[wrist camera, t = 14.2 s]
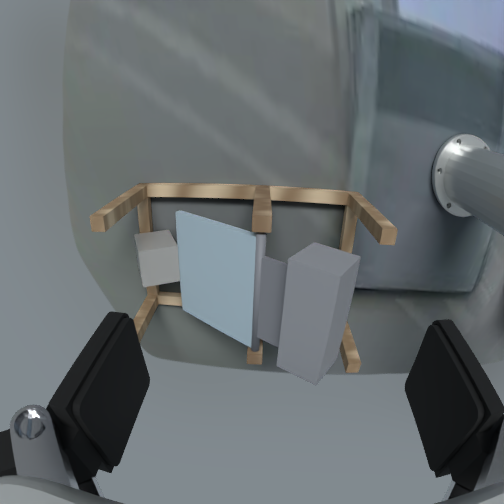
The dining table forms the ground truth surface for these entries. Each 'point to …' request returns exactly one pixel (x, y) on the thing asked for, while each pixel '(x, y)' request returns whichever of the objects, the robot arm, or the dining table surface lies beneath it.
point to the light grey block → (157, 258)
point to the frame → (260, 223)
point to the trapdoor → (267, 292)
